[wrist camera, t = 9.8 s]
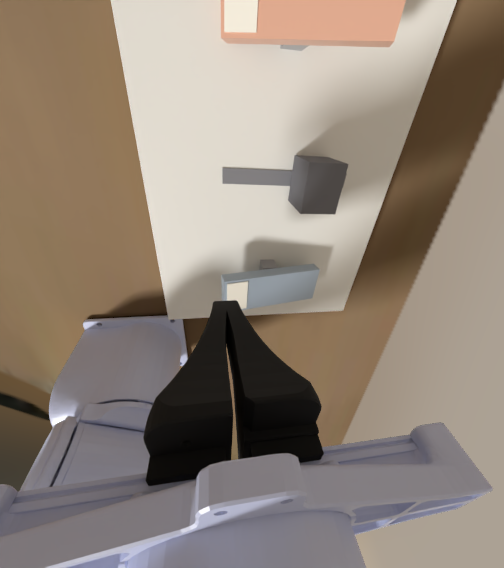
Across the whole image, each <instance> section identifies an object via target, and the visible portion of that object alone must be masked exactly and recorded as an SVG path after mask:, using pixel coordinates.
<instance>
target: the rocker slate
mask: <svg viewBox="0 0 504 568" xmlns="http://www.w3.org/2000/svg"><path fill="white" fill-rule="evenodd" d="M319 271H320V269H319V268H318V267H317V266H316V265H315V264H306V265H298V266H289V267H281V268H273V269H264V270H256V271H248V272H239V273H231V274H223V275H221V285H222V301H231V300H237V301H238V303H239V305H240V308H241V310H246V309H252V308H258V307H264V306H270V305H276V304H281V303H287V302H293V301H299V300H305V299H311V298H313V294H314V290H315V286H316V282H317V278H318V275H319Z"/></svg>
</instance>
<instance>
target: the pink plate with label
mask: <svg viewBox="0 0 504 568" xmlns="http://www.w3.org/2000/svg"><path fill="white" fill-rule="evenodd" d="M405 2H406V0H221V38H222V39H223V40H224V41H225V42H226V43H228V44H270V45H311V46H353V47H390V46H391V45H392V43H393V42H394V40H395V37H396V33H397V30H398V26H399V23H400V19H401V16H402V12H403V9H404V5H405Z"/></svg>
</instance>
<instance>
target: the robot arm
mask: <svg viewBox="0 0 504 568" xmlns="http://www.w3.org/2000/svg"><path fill="white" fill-rule="evenodd" d="M99 323H101V324H99ZM83 326H84V329H85V331H84V333H83V334H82V336H81V338H80V340H79V341H78V343H77V345H76V347H75V348H74V350H73V352H72V354H71V355H70V357H69V359H68V360H67V362H66V364H65V366H64V367H63V369H62V371H61V373H60V374H59V376H58V378H57V380H56V382H55V385H54V387H53V390H52V394H51V398H50V404H49V417H50V421H51V424H52V427H53V429H52V431H51V432H50V434H49V436H48V438H47V439H46V441H45V443H44V445H43V447H42V449H41V450H40V452H39V454H38V456H37V458H36V460H35V462H34V464H33V466H32V468H31V470H30V472H29V473H28V475H27V477H26V479H25V481H24V483H23V485H22V487H21V489H20V491H19V492H17V491H16V490H15V489H14V487H12V486H9V485H4V484H0V568H366V566H365V563H364V560H363V557H362V555H361V552H360V549H359V546H358V543H357V540H356V537H355V535H357V534H360V533H364V532H368V531H371V530H375V529H379V528H383V527H386V526H390V525H394V524H397V523H401V522H405V521H408V520H413V519H416V518H420V517H425V516H429V515H432V514H437V513H442V512H446V511H450V510H455V509H458V508H460V507H462V506H464V505H466V504H468V503H470V502H472V501H473V500H475V499H477V498H479V497H481V496H483V495H485V494H487V493H489V492H491V491H492V490H493V489H492V487H491V485H490V484H489V482H488V481H487V480H486V479H485V477H484V476H483V475H482V473H481V472H480V471H479V469H478V468H477V467H476V465H475V464H474V463H473V462H472V460H471V459H470V458H469V456H468V455H467V454H466V453H465V451H464V450H463V448H462V447H461V446H460V444H459V443H458V442H457V441H456V439H455V438H454V437H453V435H452V434H451V433H450V431H449V430H448V429H447V427H446V426H445V425H444V423H441V422H440V423H432V424H425V425H420V426H418V427H416V428H415V429H413V430H412V431H411V433H410V435H404V436H397V437H390V438H383V439H376V440H369V441H362V442H355V443H349V444H342V445H335V446H328V447H322V446H321V443H320V440H319V437H318V433H319V430H318V427H317V424H316V420H317V418H318V416H319V413H320V411H321V404H320V401H319V398H318V396H317V394H316V392H315V390H314V388H313V386H312V385H311V383H310V382H309V381H308V380H306V379H305V378H304V377H302V376H301V375H299V374H298V373H296V372H295V371H294V370H292V369H291V368H290V367H289V366H287V365H286V364H285V363H284V362H283V361H282V360H281V359H280V358H279V357H277V356H276V355H275V354H274V353H273V352H272V351H271V350H270V349H269V348H268V346H267V345H266V344H265V343H264V342H263V341H262V340H261V338H260V337H259V336H258V335H257V333H256V332H255V331H254V329H253V328H252V326H251V325H250V323H249V322H248V320H247V319H246V317H245V315H244V313H243V312H242V310H241V308H240V305H239V303H238V301H237V300H231V301H214V302H213V305H212V310H211V314H210V317H209V320H208V322H207V325H206V327H205V330H204V332H203V334H202V336H201V338H200V340H199V342H198V344H197V345H196V347H195V349H194V350H193V352H192V354H191V355H190V357H189V358H188V354H187V347H186V339H185V332H184V325H183V319H174V320H169V319H168V315H165V316H145V317H124V318H104V319H87V320H85V321H84V323H83ZM226 343H227V349H228V355H229V361H230V367H231V372H232V379H233V387H234V400H235V414H236V429H237V444H238V459H237V460H231V446H232V428H233V408H232V398H231V390H230V381H229V372H228V363H227V353H226ZM180 366H183V367H182V368H181V369H180V371H179V367H180Z"/></svg>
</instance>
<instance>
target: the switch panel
mask: <svg viewBox="0 0 504 568" xmlns="http://www.w3.org/2000/svg"><path fill="white" fill-rule="evenodd" d="M456 2H457V0H406V2H405V5H404V9H403V12H402V16H401V19H400V23H399V26H398V30H397V33H396V37H395V40H394V42H393V43H392V45H391V46H390V47H353V46H311V45H270V44H228V43H226V42H225V41H224V40H223V39H222V38H221V0H111V4H112V10H113V15H114V21H115V26H116V32H117V37H118V43H119V48H120V54H121V59H122V65H123V71H124V76H125V82H126V87H127V93H128V98H129V104H130V109H131V115H132V120H133V126H134V131H135V137H136V142H137V148H138V153H139V159H140V164H141V170H142V175H143V181H144V186H145V192H146V197H147V203H148V208H149V214H150V220H151V225H152V231H153V236H154V242H155V247H156V253H157V258H158V264H159V269H160V275H161V280H162V286H163V291H164V297H165V302H166V308H167V313H168V319H169V320H172V319H191V318H209V317H210V314H211V310H212V305H213V302H214V301H222V285H221V275H223V274H231V273H239V272H248V271H256V270H264V269H273V268H281V267H289V266H298V265H306V264H315V265H316V266H317V267H318V268H319V269H320V271H319V275H318V278H317V282H316V286H315V290H314V294H313V298H311V299H305V300H299V301H293V302H287V303H281V304H276V305H270V306H264V307H258V308H252V309H246V310H242V312H243V313H244V315H245V316H248V315H268V314H287V313H306V312H325V311H343V309H344V306H345V304H346V301H347V298H348V295H349V293H350V290H351V287H352V285H353V282H354V279H355V276H356V274H357V271H358V268H359V266H360V263H361V260H362V257H363V255H364V252H365V249H366V247H367V244H368V241H369V238H370V236H371V233H372V230H373V227H374V225H375V222H376V219H377V217H378V214H379V211H380V208H381V206H382V203H383V200H384V198H385V195H386V192H387V189H388V187H389V184H390V181H391V179H392V176H393V173H394V170H395V168H396V165H397V162H398V160H399V157H400V154H401V151H402V149H403V146H404V143H405V141H406V138H407V135H408V132H409V130H410V127H411V124H412V121H413V119H414V116H415V113H416V111H417V108H418V105H419V102H420V100H421V97H422V94H423V92H424V89H425V86H426V83H427V81H428V78H429V75H430V73H431V70H432V67H433V64H434V62H435V59H436V56H437V54H438V51H439V48H440V45H441V43H442V40H443V37H444V34H445V32H446V29H447V26H448V24H449V21H450V18H451V15H452V13H453V10H454V7H455V5H456ZM295 155H302V156H320V157H330V158H333V159H335V160H338V161H341V162H344V163H347V164H348V168H347V172H346V176H345V180H344V183H343V187H342V191H341V195H340V198H339V202H338V206H337V210H336V214H300V213H299V212H298V211H297V210H296V209H295V207H294V206H293V205H292V204H291V203H290V202H289V201H288V197H289V190H290V184H291V177H292V170H293V163H294V156H295Z"/></svg>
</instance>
